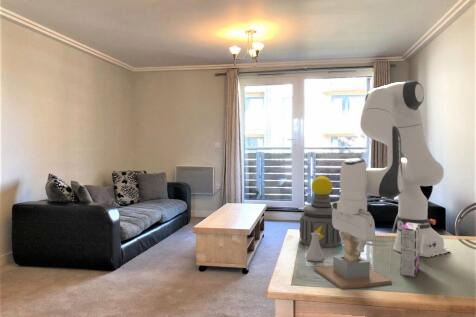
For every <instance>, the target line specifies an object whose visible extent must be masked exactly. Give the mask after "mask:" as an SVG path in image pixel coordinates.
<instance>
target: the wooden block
mask: <svg viewBox="0 0 476 317" xmlns="http://www.w3.org/2000/svg"><path fill="white" fill-rule="evenodd" d="M357 246H359V239H358V238H356V237H354V236H351V234H349V233H347V232H344V244H343V255H344V260H346V261H348V262H356V261H359V252H358V251H357Z"/></svg>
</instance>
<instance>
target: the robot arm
mask: <svg viewBox="0 0 476 317" xmlns="http://www.w3.org/2000/svg"><path fill="white" fill-rule="evenodd" d="M424 96H425V91H424V87H423V85H422V84H421V83H420V82H419V81H418V80H406V81H399V82H393V83H390V84H386V85H383V86H380V87H374V88H372V89H370V90H369V91H367V93H366V95H365V100H364V101H365V102H364V105H363V108H362V111H361V116H360V129H361V130H362V133H363V134H364V135H366V137H368V138H369V139H372V140H374V141H377V142H379V143H382V144H384V145H386V147H387V148H386V151H387V152H386V153H387V154H386V156H387V157H386V160H387V163H386V164H387V165H386V166H385V167H382V168H380V167H367V161H366V160H365V159H363V158H361V157H360V158H358V157H357V158H355V157H351V158H346V159H344V160H343V161H342V162H341V166H340V175H339V188H340V194H339V200H337V201H333V202H332V203H331V205H332V208H333V211H332V225H333V227H334V228H335V229H337V230H339V234H340V237H341V244H342V245H344V232H347V233H349V234H351V236H354V237H356V238H358V239H359V242H360V243H359V246H357V251H358V252H361V253H364V252H365V246H366V244H367V243H368V242H374V241H375V239H376V226H375V219H374V217H373V216H372V214H371V213H370V211H368V197H367V196H372V197H381V198H385V199H390V200H392V199H395V198H396V197H397V198H398V211H397V212H398V215H397V217H396V227H397V229H396V235H395V241H394V245H393V247H392V249H393V250H394V251H395V252H397V253H401V229H402V227H403V226H404V225H405V223H406V222H409V223H417V224H420V248H419V257H425V258H431V256H432V257H436V256H435V255H437V256H440V255H439V254H442V255H445V254H444V253H447V252H450V253H451V250H450V249H449V248H448V247H446V246H445V242H444V238H443V236H442V235H441V234H439V233H438V232H437V231H436V230H434V229H433V228H432V227H431V225H435V224H436V219H432V218H430V219H429V218H428V208H429V201H428V198H427V197H426V196H425V195H424V193H423V191H422V189H421V187H430V186H436V185H439V183H441V181H442V180H443V178H444V175H445V173H444V172H445V171H444V167H443V166H442V164H441V163H440V162H438V161H437V160H436V159H435V157H434V156H433V155H432V153H431V151H430V149H429V147H428V145H427V141H426V137H425V131H424V125H423V118H422V115H421V111H420V106H421V105H422V104H423V101H424V98H425V97H424ZM402 155H403V157H402ZM447 254H448V253H447Z"/></svg>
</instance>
